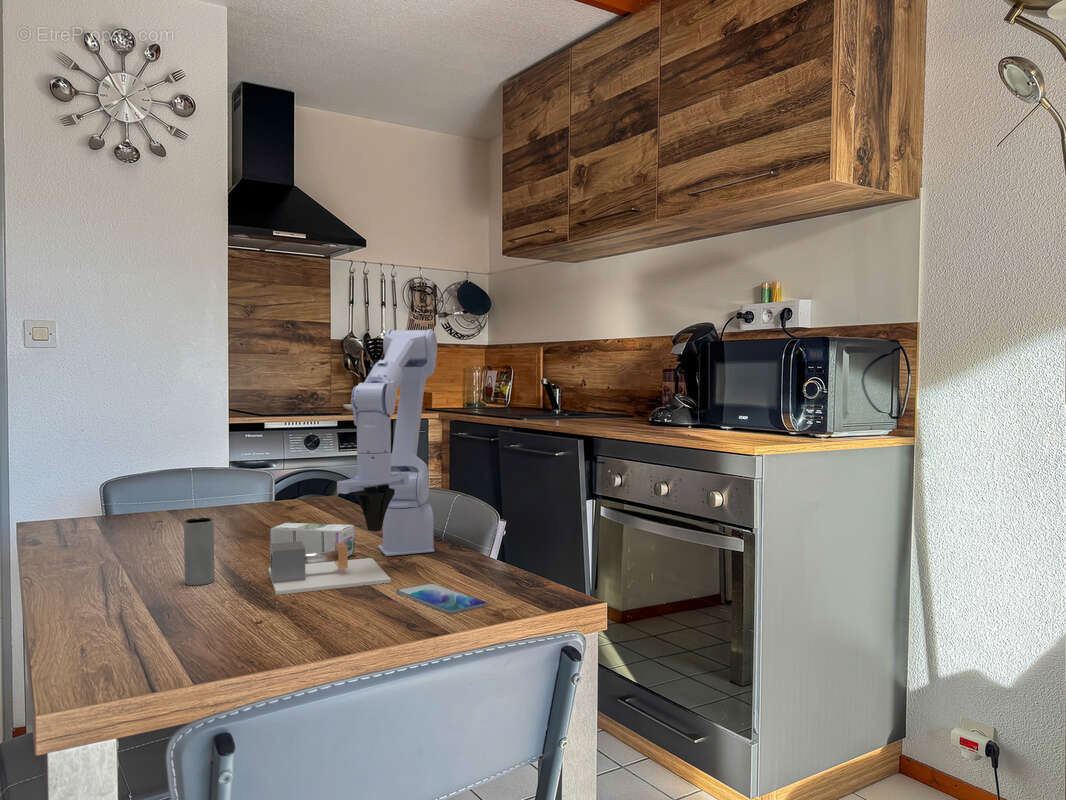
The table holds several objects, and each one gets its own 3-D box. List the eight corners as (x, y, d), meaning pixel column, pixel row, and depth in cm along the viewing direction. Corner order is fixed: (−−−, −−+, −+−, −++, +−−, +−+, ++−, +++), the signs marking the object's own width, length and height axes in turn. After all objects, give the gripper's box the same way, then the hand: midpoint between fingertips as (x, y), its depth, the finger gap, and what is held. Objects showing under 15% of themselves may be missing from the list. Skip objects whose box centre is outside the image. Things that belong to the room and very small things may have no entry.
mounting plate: (371, 561, 142) (371, 557, 142) (390, 582, 127) (390, 579, 127) (268, 571, 135) (268, 567, 135) (275, 595, 120) (275, 591, 120)
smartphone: (432, 582, 126) (489, 602, 115) (431, 587, 126) (489, 608, 115) (393, 589, 121) (450, 611, 110) (393, 595, 121) (450, 617, 110)
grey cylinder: (220, 579, 129) (219, 518, 129) (200, 586, 125) (199, 523, 125) (198, 577, 131) (197, 516, 131) (178, 584, 127) (177, 521, 126)
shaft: (343, 563, 134) (343, 542, 134) (347, 568, 130) (347, 547, 130) (286, 568, 130) (286, 547, 130) (288, 574, 127) (288, 552, 127)
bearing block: (301, 571, 132) (301, 541, 132) (305, 579, 127) (305, 548, 127) (270, 574, 130) (270, 543, 130) (273, 583, 125) (272, 551, 125)
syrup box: (269, 558, 145) (342, 562, 142) (269, 526, 144) (342, 530, 141) (285, 550, 150) (355, 555, 147) (285, 520, 150) (355, 524, 147)
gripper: (389, 447, 142) (390, 521, 142) (324, 454, 130) (325, 534, 131) (416, 449, 138) (417, 525, 138) (352, 456, 126) (353, 539, 126)
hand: (374, 530), depth 134 cm, fingers closed
